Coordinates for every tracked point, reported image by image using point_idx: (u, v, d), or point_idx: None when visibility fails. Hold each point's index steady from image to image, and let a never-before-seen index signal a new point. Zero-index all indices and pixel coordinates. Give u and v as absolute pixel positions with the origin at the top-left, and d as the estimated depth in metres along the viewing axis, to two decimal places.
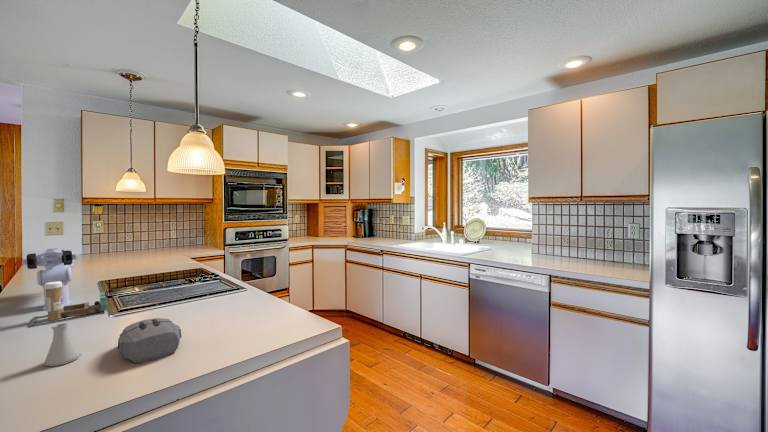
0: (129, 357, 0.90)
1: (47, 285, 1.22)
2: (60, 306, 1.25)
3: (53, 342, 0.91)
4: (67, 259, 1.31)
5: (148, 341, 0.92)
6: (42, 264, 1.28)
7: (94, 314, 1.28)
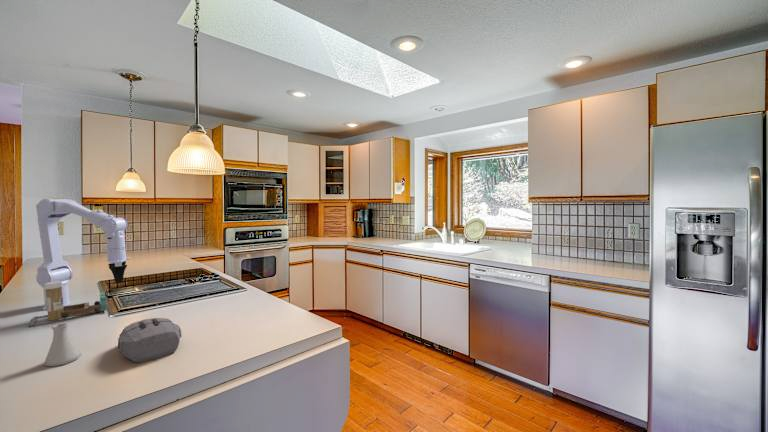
0: (129, 357, 0.90)
1: (47, 285, 1.22)
2: (60, 306, 1.25)
3: (53, 342, 0.91)
4: None
5: (148, 341, 0.92)
6: None
7: (94, 314, 1.28)
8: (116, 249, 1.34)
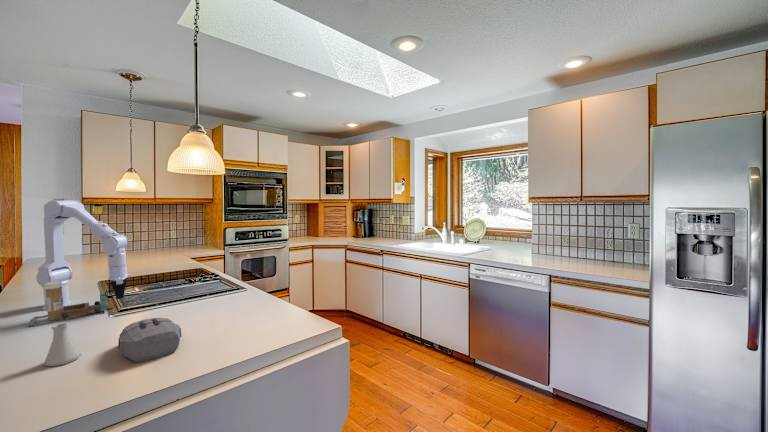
0: (130, 356, 0.91)
1: (47, 285, 1.22)
2: (60, 306, 1.25)
3: (53, 342, 0.91)
4: None
5: (148, 341, 0.92)
6: (113, 279, 1.34)
7: (94, 314, 1.28)
8: (117, 266, 1.34)
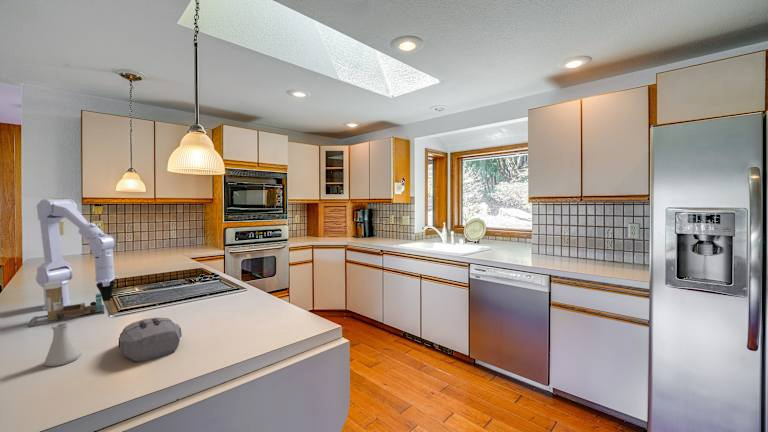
0: (130, 356, 0.91)
1: (47, 285, 1.22)
2: (60, 306, 1.25)
3: (53, 342, 0.91)
4: None
5: (148, 340, 0.92)
6: (100, 281, 1.31)
7: (94, 314, 1.28)
8: (104, 268, 1.31)
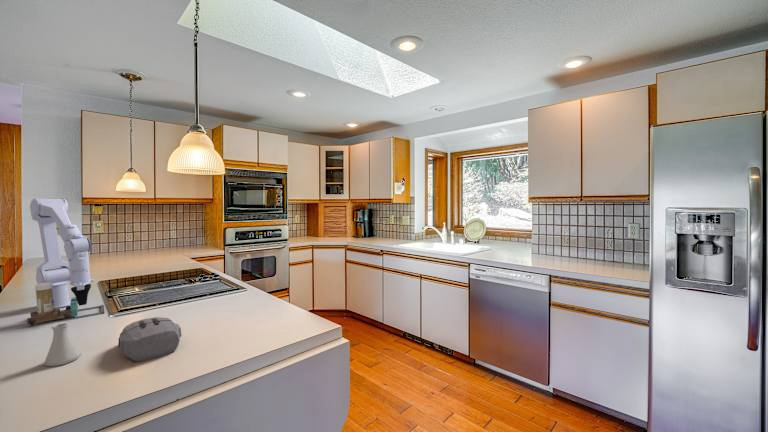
0: (129, 356, 0.91)
1: (37, 286, 1.21)
2: (51, 308, 1.23)
3: (53, 342, 0.91)
4: None
5: (148, 340, 0.93)
6: None
7: (94, 314, 1.28)
8: (79, 271, 1.27)
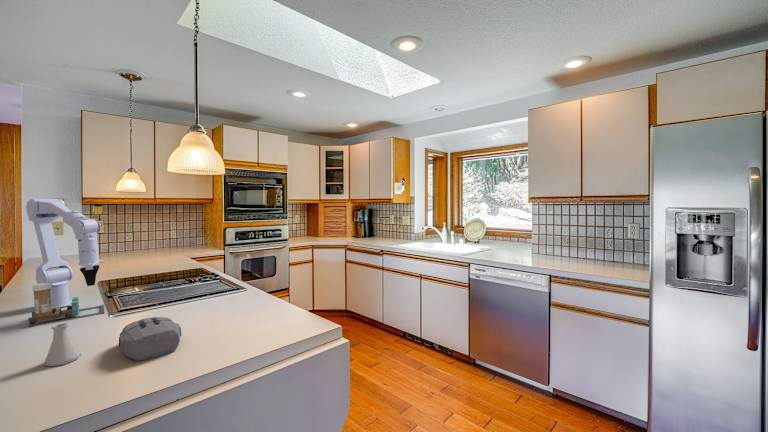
0: (130, 355, 0.91)
1: (35, 287, 1.20)
2: (49, 308, 1.23)
3: (53, 342, 0.91)
4: None
5: (149, 339, 0.93)
6: None
7: (94, 314, 1.28)
8: (88, 252, 1.28)
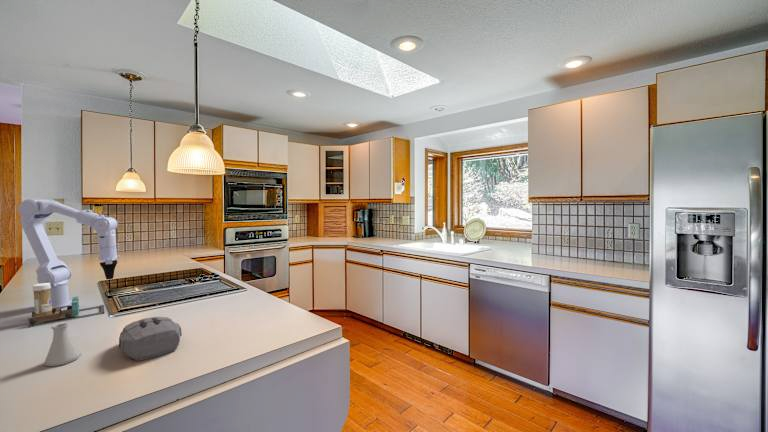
0: (130, 355, 0.91)
1: (35, 287, 1.20)
2: (49, 308, 1.23)
3: (53, 342, 0.91)
4: None
5: (149, 339, 0.93)
6: None
7: (94, 314, 1.28)
8: (107, 247, 1.38)
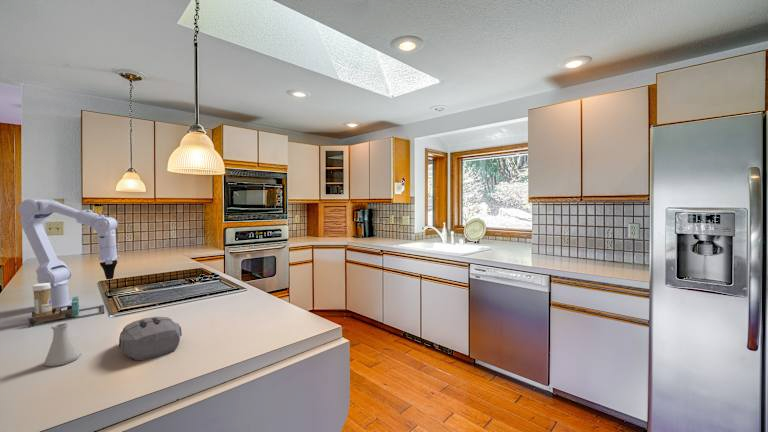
0: (131, 355, 0.92)
1: (35, 287, 1.20)
2: (49, 308, 1.23)
3: (53, 342, 0.91)
4: None
5: (149, 339, 0.93)
6: None
7: (94, 314, 1.28)
8: (107, 247, 1.38)
